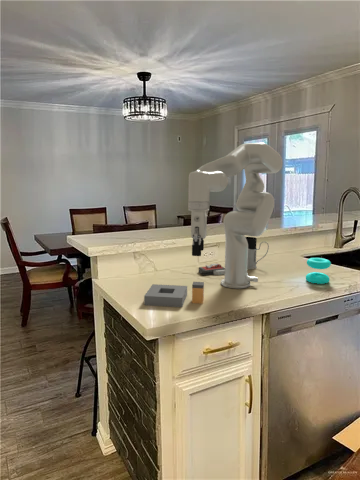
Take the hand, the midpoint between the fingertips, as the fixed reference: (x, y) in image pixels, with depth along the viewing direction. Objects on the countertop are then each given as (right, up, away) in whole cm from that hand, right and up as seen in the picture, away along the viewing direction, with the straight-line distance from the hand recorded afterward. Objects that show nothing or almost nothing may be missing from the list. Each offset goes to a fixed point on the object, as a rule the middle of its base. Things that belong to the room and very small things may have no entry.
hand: (197, 252), depth 135 cm
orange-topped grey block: (0, -18, +3) cm, 19 cm away
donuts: (+55, -14, +28) cm, 63 cm away
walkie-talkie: (+12, -12, +43) cm, 46 cm away
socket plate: (-12, -18, +5) cm, 22 cm away
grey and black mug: (+31, -9, +52) cm, 61 cm away
